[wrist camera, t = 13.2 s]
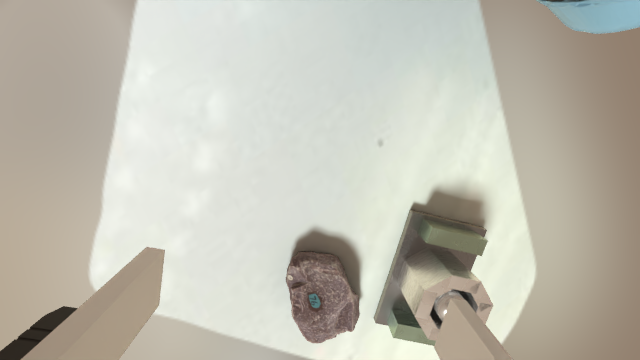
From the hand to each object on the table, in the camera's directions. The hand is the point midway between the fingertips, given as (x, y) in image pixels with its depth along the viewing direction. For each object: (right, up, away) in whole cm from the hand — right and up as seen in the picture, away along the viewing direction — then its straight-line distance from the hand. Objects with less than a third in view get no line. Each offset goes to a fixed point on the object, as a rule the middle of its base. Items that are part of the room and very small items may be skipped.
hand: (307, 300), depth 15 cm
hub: (+15, -7, +27) cm, 32 cm away
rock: (+1, -9, +28) cm, 30 cm away
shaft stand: (+15, -7, +28) cm, 33 cm away
